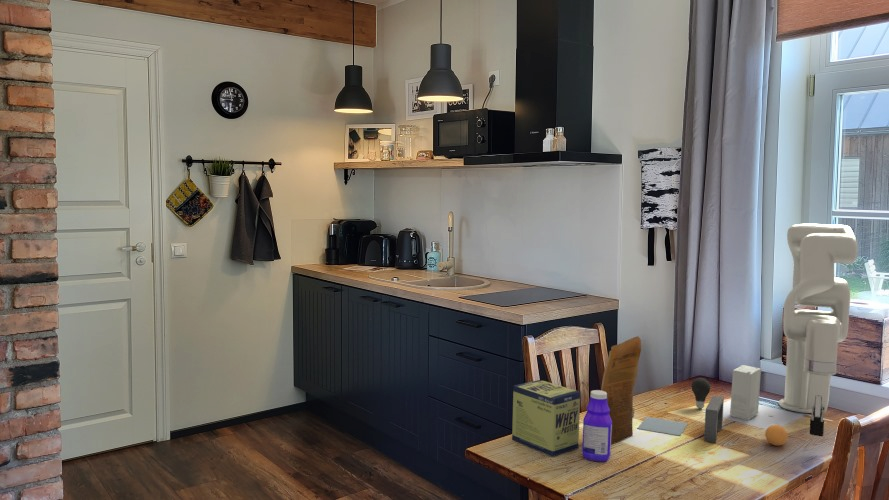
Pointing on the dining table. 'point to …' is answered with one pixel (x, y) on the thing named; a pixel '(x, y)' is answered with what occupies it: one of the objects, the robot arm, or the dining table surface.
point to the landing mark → (662, 426)
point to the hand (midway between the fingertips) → (816, 434)
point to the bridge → (713, 419)
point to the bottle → (597, 428)
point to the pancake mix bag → (621, 386)
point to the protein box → (546, 417)
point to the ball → (776, 435)
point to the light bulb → (700, 391)
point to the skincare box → (745, 392)
